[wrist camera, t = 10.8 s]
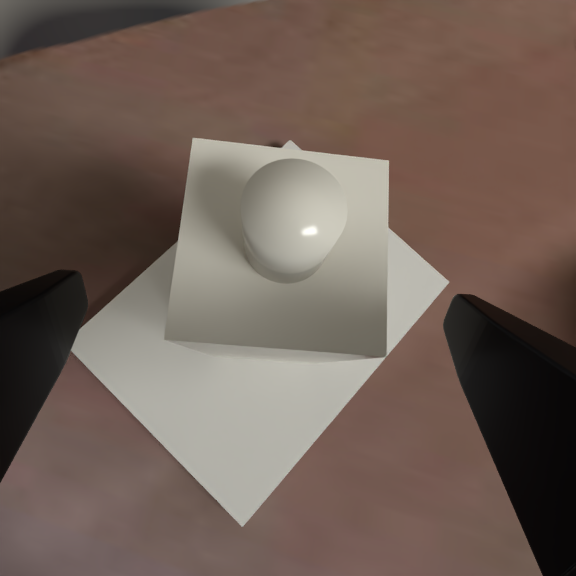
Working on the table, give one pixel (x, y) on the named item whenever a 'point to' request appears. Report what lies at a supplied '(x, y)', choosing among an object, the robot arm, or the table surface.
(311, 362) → the white knobbed block
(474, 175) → the table surface
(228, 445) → the stone board
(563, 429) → the robot arm
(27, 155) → the table surface
